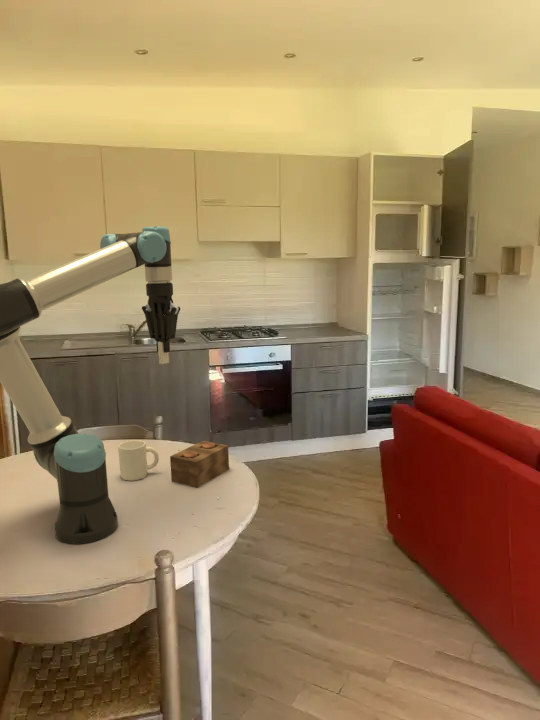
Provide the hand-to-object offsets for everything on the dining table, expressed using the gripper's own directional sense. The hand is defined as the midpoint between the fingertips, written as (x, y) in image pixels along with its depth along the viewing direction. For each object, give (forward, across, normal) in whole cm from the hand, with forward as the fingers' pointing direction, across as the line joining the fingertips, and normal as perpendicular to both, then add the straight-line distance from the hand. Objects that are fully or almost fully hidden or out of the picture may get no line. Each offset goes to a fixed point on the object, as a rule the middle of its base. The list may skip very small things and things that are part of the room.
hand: (164, 363), depth 162 cm
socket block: (+36, -6, -7) cm, 38 cm away
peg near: (+35, -6, -2) cm, 36 cm away
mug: (+37, +11, +2) cm, 38 cm away
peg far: (+35, -6, -11) cm, 38 cm away
